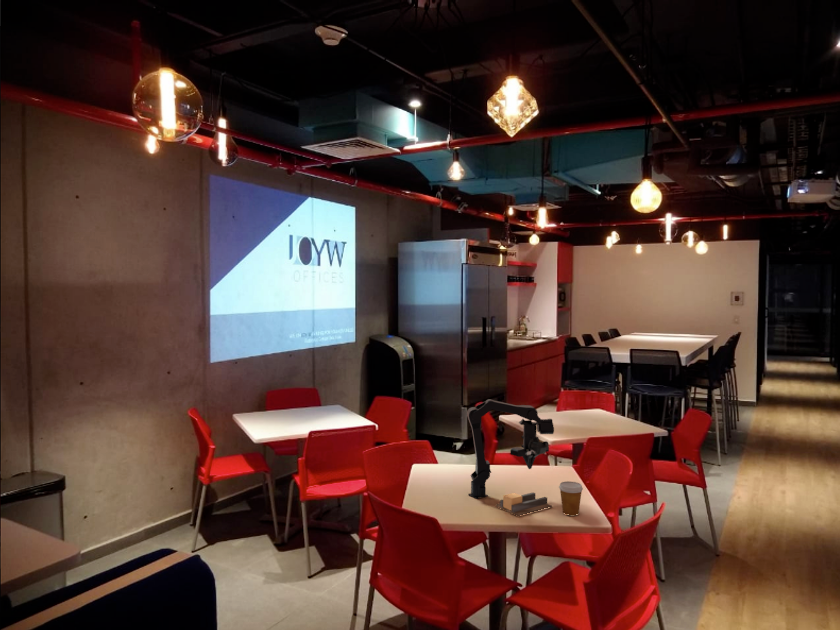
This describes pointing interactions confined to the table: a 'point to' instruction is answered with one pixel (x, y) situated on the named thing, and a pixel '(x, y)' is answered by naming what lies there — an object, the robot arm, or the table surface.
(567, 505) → the disposable coffee cup
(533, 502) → the chute
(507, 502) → the block
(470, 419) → the robot arm
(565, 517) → the table surface
